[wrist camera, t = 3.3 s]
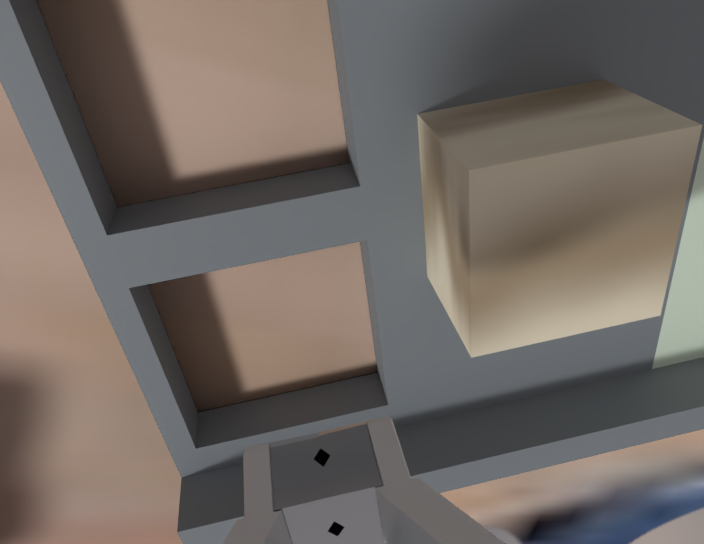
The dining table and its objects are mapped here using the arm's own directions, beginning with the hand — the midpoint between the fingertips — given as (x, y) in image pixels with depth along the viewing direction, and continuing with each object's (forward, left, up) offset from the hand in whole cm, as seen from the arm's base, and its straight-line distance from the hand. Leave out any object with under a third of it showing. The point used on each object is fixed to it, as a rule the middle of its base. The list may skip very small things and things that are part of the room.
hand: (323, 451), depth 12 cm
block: (-1, +8, -9) cm, 12 cm away
